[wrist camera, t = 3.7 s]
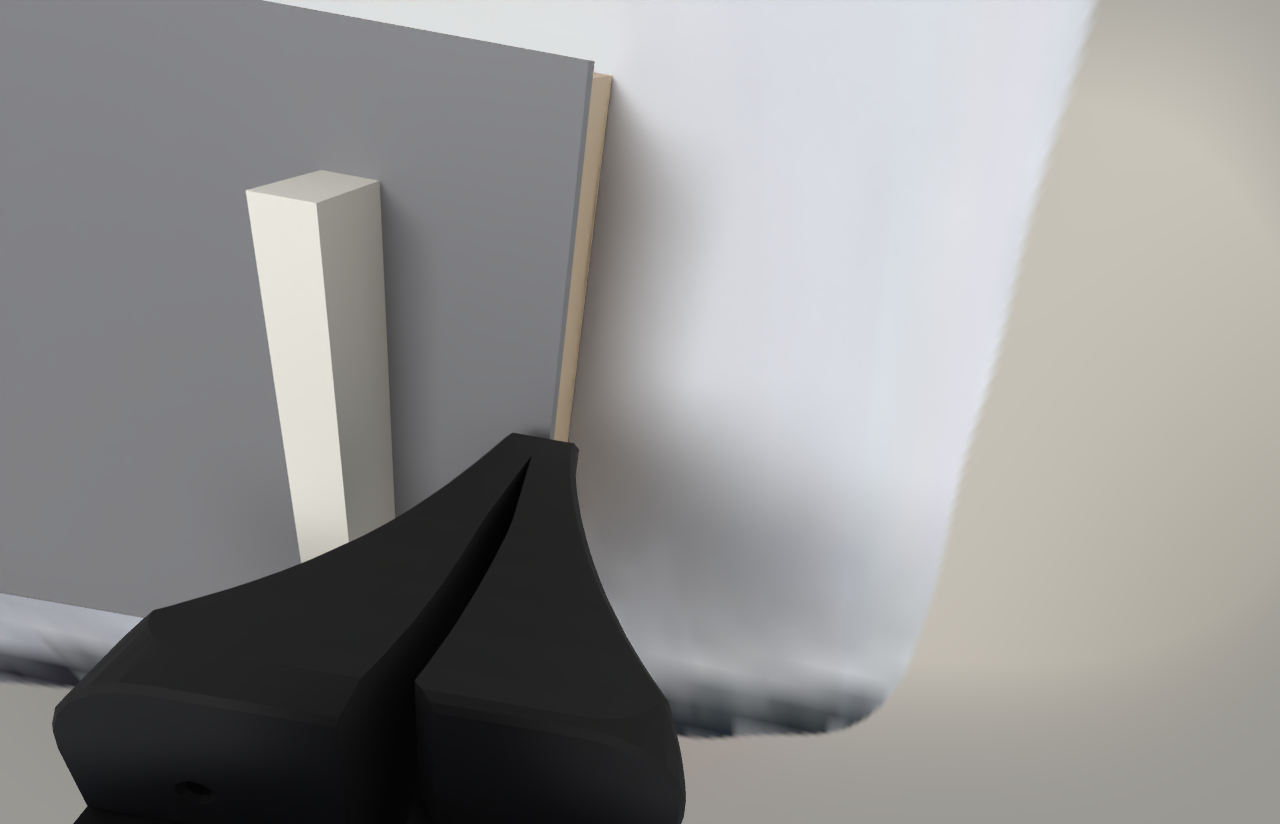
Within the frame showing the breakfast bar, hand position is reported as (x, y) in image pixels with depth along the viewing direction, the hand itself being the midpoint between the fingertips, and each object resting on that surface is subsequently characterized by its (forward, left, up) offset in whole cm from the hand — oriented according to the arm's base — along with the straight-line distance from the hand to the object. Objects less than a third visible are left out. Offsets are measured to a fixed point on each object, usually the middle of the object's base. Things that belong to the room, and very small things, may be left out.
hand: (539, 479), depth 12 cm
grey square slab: (-8, 0, -3) cm, 8 cm away
